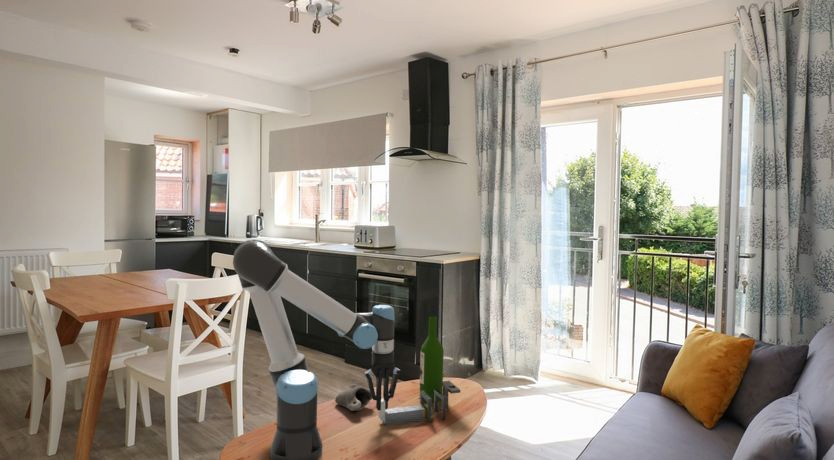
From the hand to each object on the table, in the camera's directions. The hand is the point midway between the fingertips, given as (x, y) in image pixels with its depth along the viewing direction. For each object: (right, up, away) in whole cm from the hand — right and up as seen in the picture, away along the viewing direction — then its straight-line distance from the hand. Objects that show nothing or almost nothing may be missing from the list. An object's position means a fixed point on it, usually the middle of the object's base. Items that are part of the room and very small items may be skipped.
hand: (381, 418), depth 166 cm
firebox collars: (+20, -2, +8) cm, 22 cm away
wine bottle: (+17, -2, +22) cm, 28 cm away
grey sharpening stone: (+8, -2, +3) cm, 9 cm away
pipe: (-11, -1, +14) cm, 18 cm away
